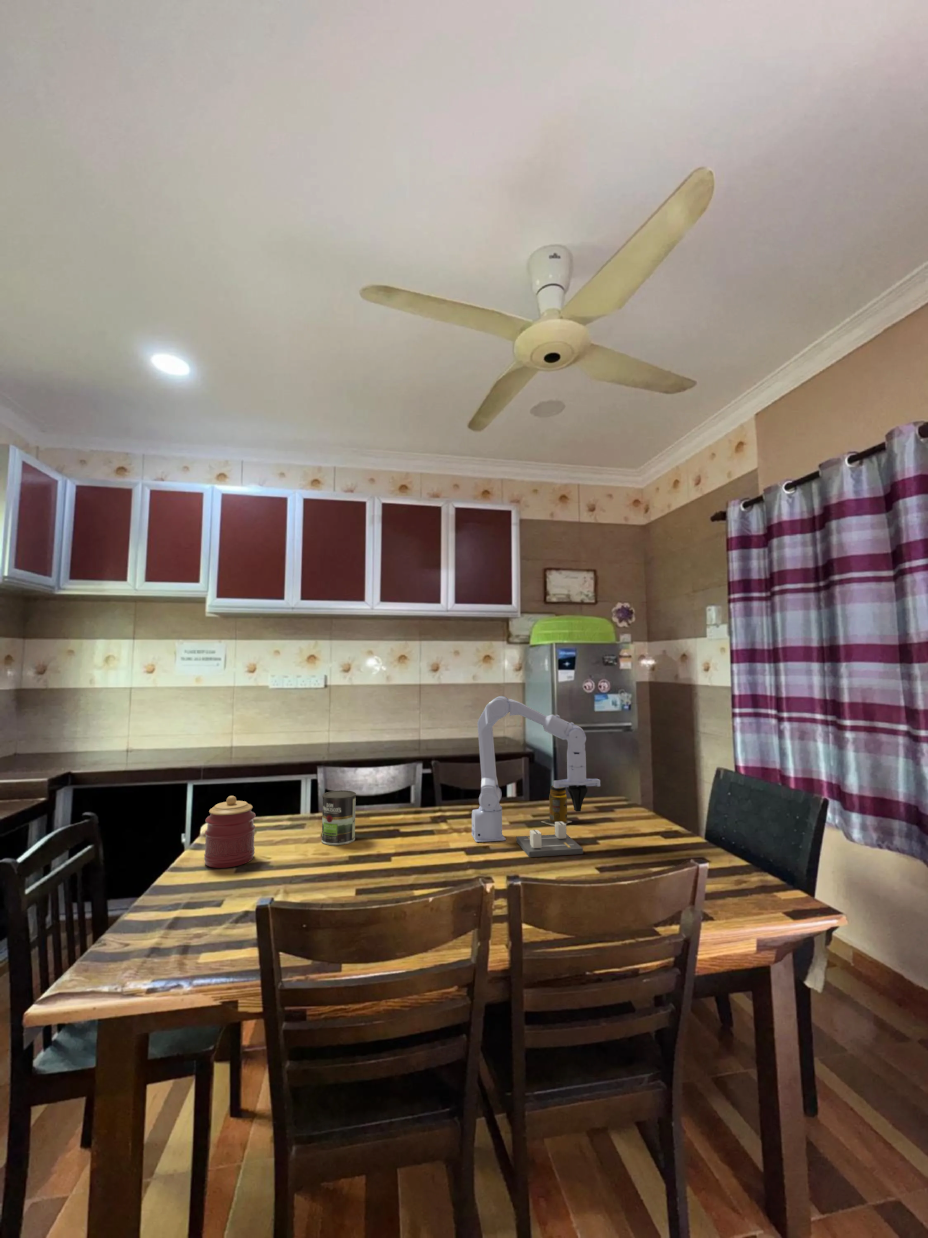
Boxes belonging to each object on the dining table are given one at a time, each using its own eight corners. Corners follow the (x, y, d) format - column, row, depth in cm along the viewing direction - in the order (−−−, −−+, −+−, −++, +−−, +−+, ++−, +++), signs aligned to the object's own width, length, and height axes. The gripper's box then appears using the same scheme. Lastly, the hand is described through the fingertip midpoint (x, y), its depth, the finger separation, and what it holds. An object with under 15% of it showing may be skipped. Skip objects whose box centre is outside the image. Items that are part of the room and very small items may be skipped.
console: (529, 857, 156) (529, 851, 157) (516, 841, 170) (516, 836, 170) (583, 854, 159) (582, 848, 159) (566, 838, 173) (566, 833, 173)
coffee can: (343, 847, 166) (343, 799, 167) (314, 843, 169) (315, 796, 171) (361, 837, 175) (362, 791, 176) (334, 833, 179) (335, 789, 180)
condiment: (572, 822, 191) (571, 786, 192) (557, 827, 185) (557, 790, 186) (555, 818, 197) (554, 783, 198) (540, 822, 191) (540, 787, 192)
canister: (243, 849, 164) (244, 788, 165) (262, 860, 155) (264, 796, 156) (196, 860, 155) (199, 796, 156) (214, 873, 146) (216, 804, 147)
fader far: (558, 838, 167) (558, 824, 167) (555, 835, 171) (554, 821, 171) (566, 838, 168) (566, 824, 168) (562, 834, 171) (562, 821, 171)
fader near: (533, 848, 159) (533, 833, 159) (530, 844, 162) (529, 830, 162) (541, 847, 159) (541, 833, 159) (537, 844, 162) (537, 829, 163)
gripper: (558, 769, 167) (559, 815, 165) (603, 767, 169) (605, 813, 168) (550, 764, 173) (551, 809, 172) (594, 763, 176) (595, 807, 175)
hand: (577, 810), depth 171 cm, fingers closed
